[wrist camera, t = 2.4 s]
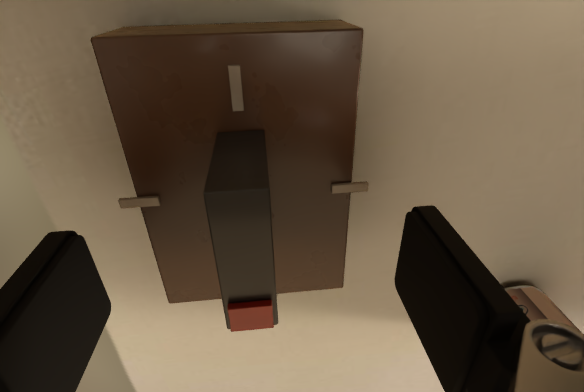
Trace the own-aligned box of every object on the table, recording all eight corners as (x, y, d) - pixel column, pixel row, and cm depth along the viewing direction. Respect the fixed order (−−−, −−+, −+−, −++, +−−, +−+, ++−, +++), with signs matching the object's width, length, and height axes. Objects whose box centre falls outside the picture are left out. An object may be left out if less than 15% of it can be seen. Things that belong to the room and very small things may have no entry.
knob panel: (104, 26, 12) (64, 38, 10) (357, 19, 13) (385, 28, 10) (168, 260, 18) (153, 308, 15) (341, 246, 19) (356, 289, 16)
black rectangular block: (216, 132, 12) (200, 198, 8) (264, 129, 12) (270, 193, 8) (233, 247, 14) (227, 336, 11) (271, 244, 14) (278, 331, 11)
